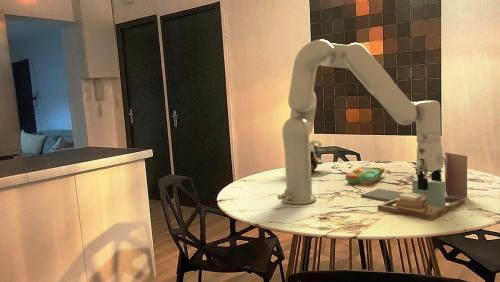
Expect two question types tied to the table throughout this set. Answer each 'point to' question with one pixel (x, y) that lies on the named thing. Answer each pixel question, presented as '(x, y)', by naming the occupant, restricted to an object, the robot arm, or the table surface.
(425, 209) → the offcut large
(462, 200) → the brown wooden frame
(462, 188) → the greeting card
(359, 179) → the puzzle game
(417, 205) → the offcut mid
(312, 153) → the cherub figurine
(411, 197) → the offcut small
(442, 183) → the pale teal block
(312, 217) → the table surface
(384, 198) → the mat
